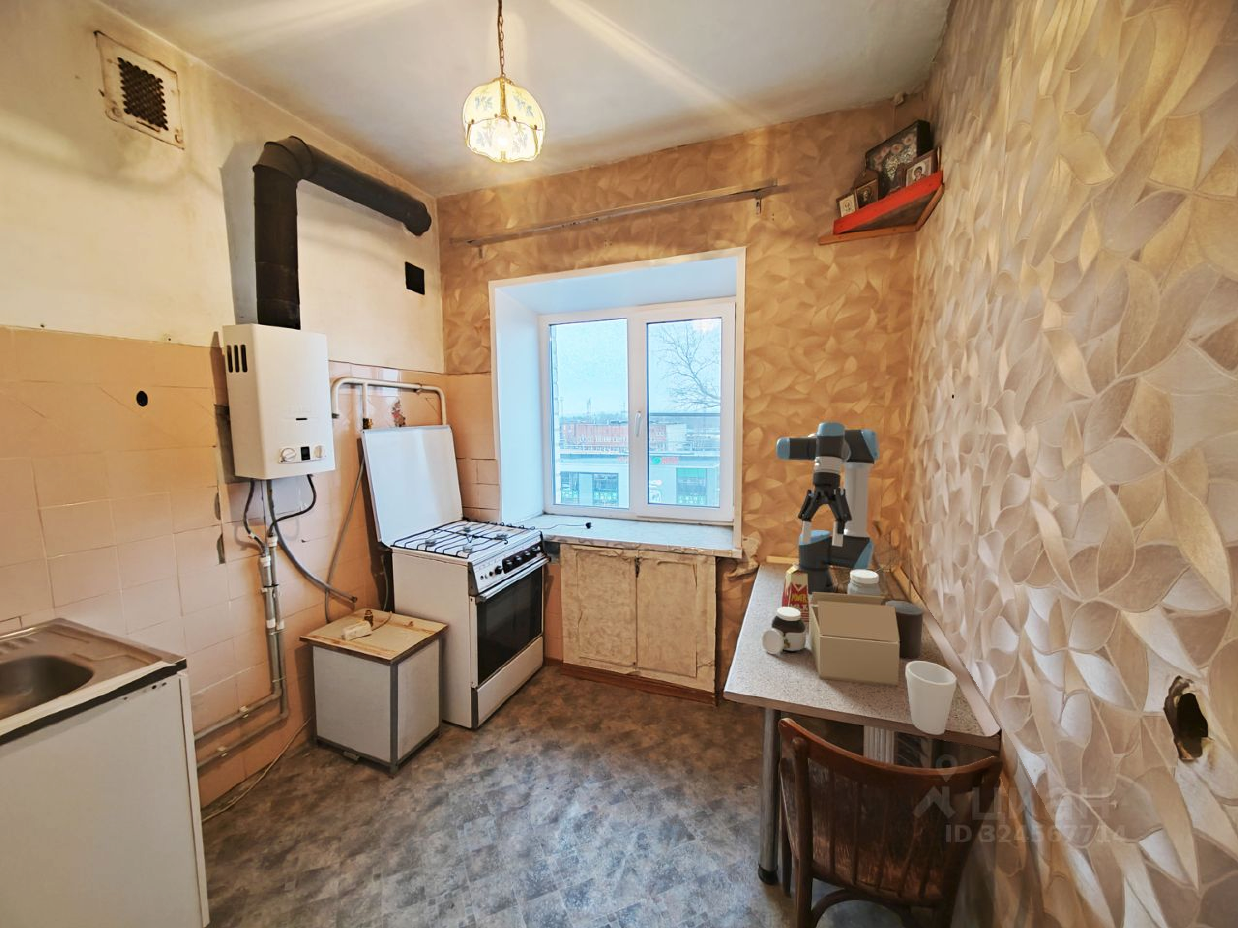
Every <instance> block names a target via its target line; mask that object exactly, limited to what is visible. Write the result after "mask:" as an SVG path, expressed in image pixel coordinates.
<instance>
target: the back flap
mask: <svg viewBox="0 0 1238 928" xmlns="http://www.w3.org/2000/svg"><path fill="white" fill-rule="evenodd" d="M884 599H885V596H884V595H883V596H882V595H881V596H869V595H854V594H847V593H835V592H831V593H824V592H813V593H811V597H810V599H809V605H812V606H818V601H828V602H842V603H856V604H870V605H881V604H882V603H883V601H884Z"/></svg>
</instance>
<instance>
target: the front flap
mask: <svg viewBox="0 0 1238 928" xmlns="http://www.w3.org/2000/svg"><path fill="white" fill-rule="evenodd" d="M817 606H818V614H819V627H820V635H830V636H841V637H852V638H863V639H874V640H885V641H896V642H900V640H899V633H898V627H897V620H896V614H895V607H894V606H885V604H884V605H881V604H880V605H870V604H856V603H842V602H828V601H818V605H817Z"/></svg>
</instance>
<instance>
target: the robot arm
mask: <svg viewBox="0 0 1238 928" xmlns="http://www.w3.org/2000/svg"><path fill="white" fill-rule="evenodd" d="M817 427H818V428H817V432H814V433H811V434H810V435H808V436H798V437H788V436H787V437H780V438H778V440H777V442H776V448H775V450H776V452H775V453H776V457H777V458H778V459H779V460H786V461H813V462H814V466H813V471H814V473H812V474H813V475H812V485H813V486H814V489H807V490H806V494H805V495H806V496H805V498H804V500H803V503H802V506H801V507H800V508H801V509H800V510H799V513H798V515H797V519H798V520H801V533H800V535H799V538H798V544H797V546H798V566H799V568H798V569H799V570H801V571H803V572H805V573H807V578H808V594H812V593H813V592H824V593H833V592H834V590H835V584H834V583H835V582H834V580H833V577H832V573H831V571H830V568H831V567H830V566H832V567H836V568H843V569H849V570H857V569H859V570H869V568H870V565H871V562H872V560H873V555H874V550H875V542H874V541H873V540H871V535H870V534H869V533H868V532H867V519H868V517H867V516H868V500H869V499H868V498H869V484H870V483H869V481H870V470H871V468H872V467H873V466H875V461H879V459H880V445H879V444H880V443H879V439H878V438H879V437H878V435H877V432H876V431H875V430H872V429H864V428H862V429H846V426H845V425H844V424H843V423H842V422H837V421H824V422H822V423H819V425H818V426H817ZM842 467H843V468H844V473H843V488H842V487H840V486H841V479H842V476H841V474H842V470H843V468H842ZM823 505H828V507H829V509H830V510H831V513H832V514H833V517H834V521H833V528H832V533H831V532H830V530H825V529H814V530H812V528H813V527H812V526H813V521H812V519H813V518H814V516H815V514H816V513H817V511H818V510H819V509H820V508H821V507H822V506H823Z"/></svg>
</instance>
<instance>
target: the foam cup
mask: <svg viewBox="0 0 1238 928" xmlns="http://www.w3.org/2000/svg"><path fill="white" fill-rule="evenodd" d="M904 675H905V678H906V682H907V683H906V684H907V685H906V686H907V692H908V693H907V694H908V702H909V710H910V718H911V723H912V725H913V726H914V727H915V728H916V729H918V730H920V731H921V732H924V733H926V734H930V735H941V734H944V733H945V730H946V727H947V722H948V719H949V716H950V715H949V714H950V710H951V708H952V707H951V706H952V703H953V702H952V701H953V698H954V693H955V691H956V690H957V680H958V679H957V676H955V673H953V672H952V671H951V670H950V669H948V668H947V667H944V666H943V665H940V664H937V663H935V662H934V663H933V662H929V661H926V660H923V661H922V660H913V661H910V662H907V664H906V665H905V674H904Z"/></svg>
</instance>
